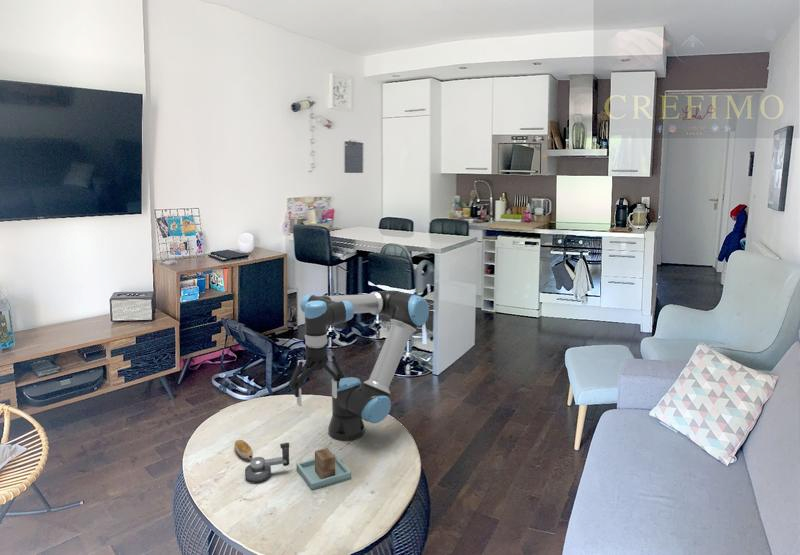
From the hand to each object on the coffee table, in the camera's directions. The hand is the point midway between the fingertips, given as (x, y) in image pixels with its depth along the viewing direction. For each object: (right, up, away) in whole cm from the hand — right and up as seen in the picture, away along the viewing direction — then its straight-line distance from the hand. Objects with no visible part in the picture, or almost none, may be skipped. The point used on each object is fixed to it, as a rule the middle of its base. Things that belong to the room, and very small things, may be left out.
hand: (317, 400), depth 203 cm
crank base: (-21, -27, -1) cm, 34 cm away
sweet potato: (-31, -24, +14) cm, 41 cm away
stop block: (+3, -26, 0) cm, 27 cm away
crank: (-17, -24, 0) cm, 29 cm away
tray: (+2, -27, +1) cm, 27 cm away
